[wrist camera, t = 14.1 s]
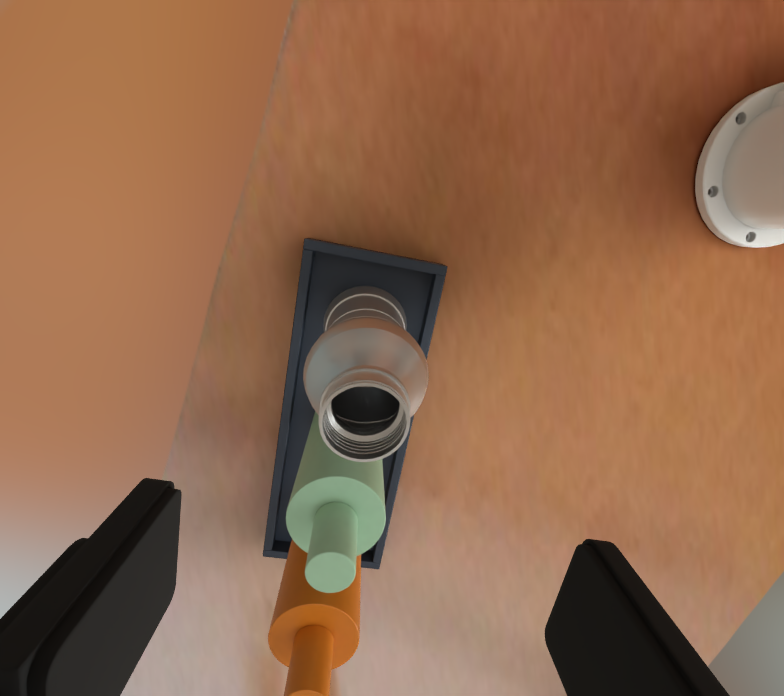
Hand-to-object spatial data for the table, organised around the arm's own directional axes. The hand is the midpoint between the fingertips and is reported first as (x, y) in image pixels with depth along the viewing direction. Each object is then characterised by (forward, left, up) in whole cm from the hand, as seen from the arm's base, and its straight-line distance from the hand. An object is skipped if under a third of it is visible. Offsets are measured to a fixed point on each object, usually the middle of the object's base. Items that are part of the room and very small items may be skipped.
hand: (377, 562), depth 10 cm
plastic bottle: (0, 0, -27) cm, 27 cm away
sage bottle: (+10, 0, -27) cm, 29 cm away
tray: (+10, 0, -28) cm, 30 cm away
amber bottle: (+19, 0, -27) cm, 33 cm away
